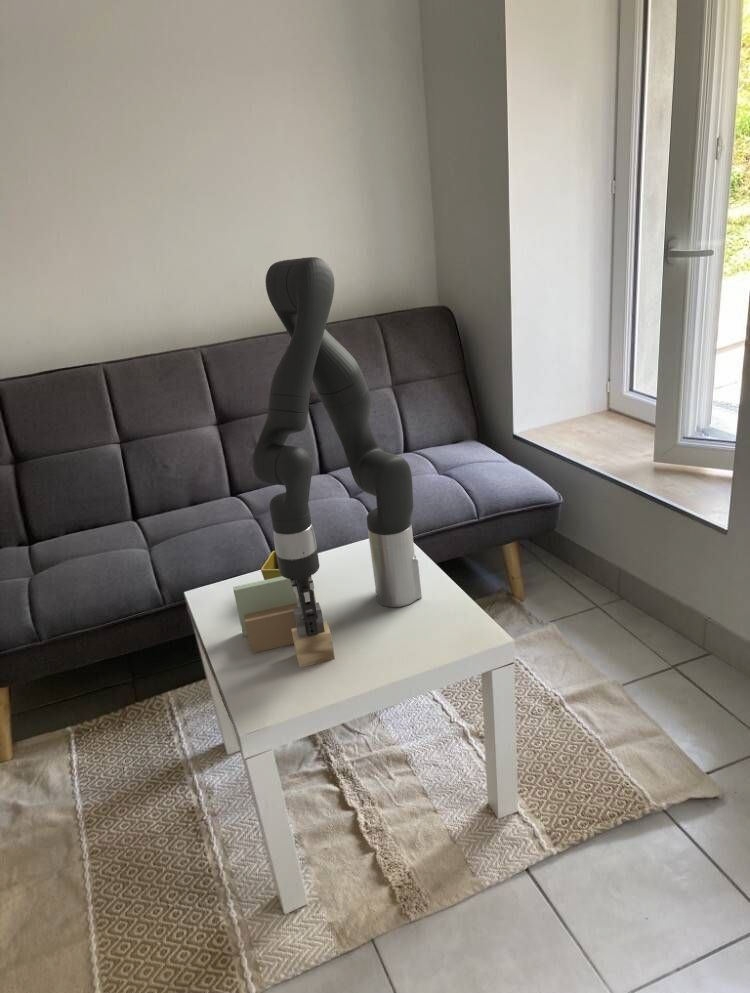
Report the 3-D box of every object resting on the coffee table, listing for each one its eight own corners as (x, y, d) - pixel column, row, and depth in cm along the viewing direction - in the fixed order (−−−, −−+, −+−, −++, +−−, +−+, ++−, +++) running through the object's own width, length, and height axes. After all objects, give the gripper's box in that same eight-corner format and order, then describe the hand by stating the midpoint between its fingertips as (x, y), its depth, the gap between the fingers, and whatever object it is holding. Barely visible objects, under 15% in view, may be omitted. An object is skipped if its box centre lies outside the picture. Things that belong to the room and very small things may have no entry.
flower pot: (304, 605, 173) (298, 569, 169) (266, 605, 175) (259, 569, 171) (315, 584, 180) (309, 550, 177) (279, 584, 182) (272, 550, 179)
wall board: (317, 615, 168) (309, 570, 164) (324, 636, 160) (316, 589, 156) (242, 632, 165) (233, 587, 161) (246, 654, 158) (236, 607, 153)
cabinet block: (330, 646, 157) (322, 598, 153) (334, 658, 153) (327, 610, 148) (295, 654, 156) (287, 606, 151) (299, 667, 152) (290, 618, 147)
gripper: (322, 560, 139) (334, 638, 145) (309, 528, 152) (321, 601, 158) (280, 569, 138) (294, 647, 144) (271, 536, 151) (284, 609, 157)
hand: (308, 623), depth 151 cm, fingers open, 8 cm apart
